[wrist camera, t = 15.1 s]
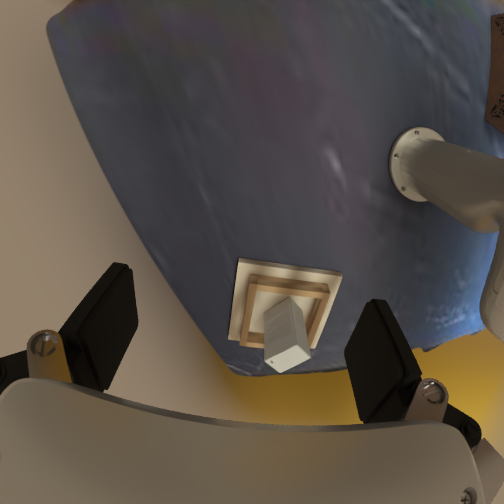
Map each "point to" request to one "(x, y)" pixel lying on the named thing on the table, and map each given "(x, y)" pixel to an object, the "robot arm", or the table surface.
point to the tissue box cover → (496, 75)
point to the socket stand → (279, 298)
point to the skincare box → (285, 336)
